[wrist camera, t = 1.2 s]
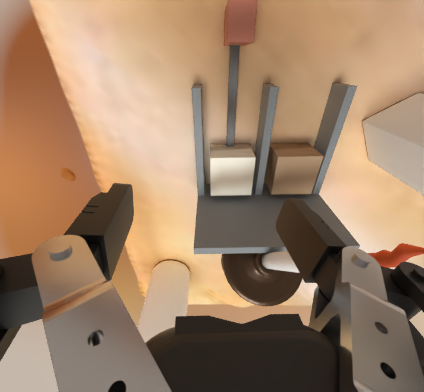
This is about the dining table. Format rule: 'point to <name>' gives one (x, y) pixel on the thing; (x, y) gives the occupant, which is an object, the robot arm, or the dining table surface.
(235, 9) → the corded block
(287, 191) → the walnut block
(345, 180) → the dining table surface
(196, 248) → the lane rack
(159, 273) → the alcohol
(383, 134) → the milk carton
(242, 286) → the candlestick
